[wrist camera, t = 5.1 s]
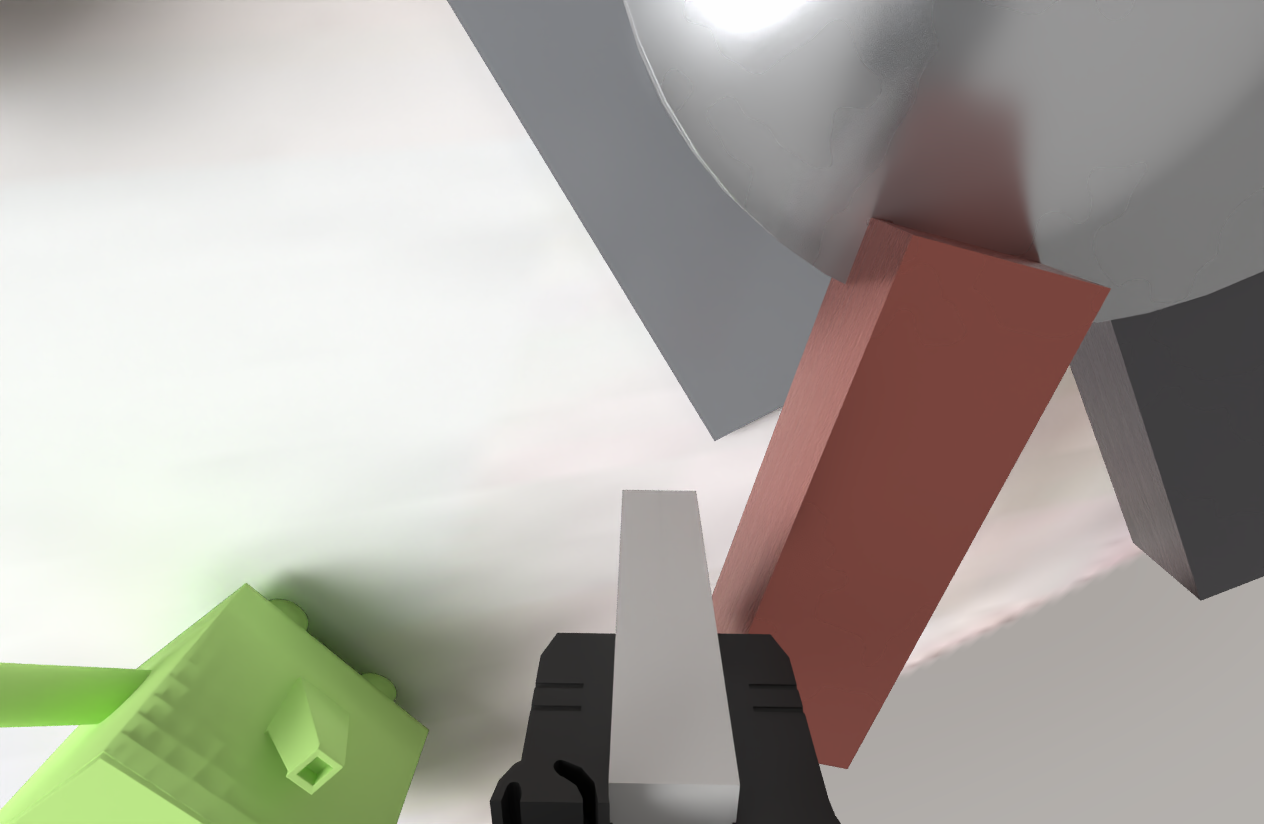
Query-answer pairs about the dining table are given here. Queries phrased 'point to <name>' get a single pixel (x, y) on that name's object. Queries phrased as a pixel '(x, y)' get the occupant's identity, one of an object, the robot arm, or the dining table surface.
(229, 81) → the dining table surface
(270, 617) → the kettle
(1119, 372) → the pot
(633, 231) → the trivet
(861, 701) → the lid
